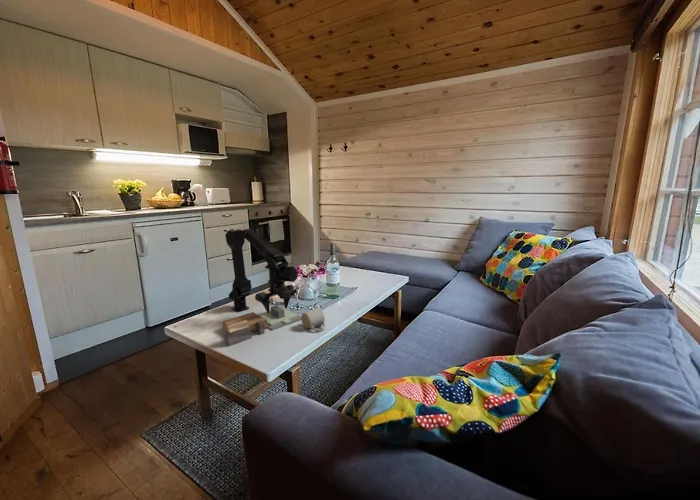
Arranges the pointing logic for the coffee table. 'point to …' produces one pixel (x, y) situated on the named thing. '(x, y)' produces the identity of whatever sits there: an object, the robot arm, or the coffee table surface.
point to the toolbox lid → (278, 316)
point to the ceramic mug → (313, 319)
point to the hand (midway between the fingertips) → (277, 310)
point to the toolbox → (255, 326)
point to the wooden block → (237, 326)
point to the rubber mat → (282, 322)
